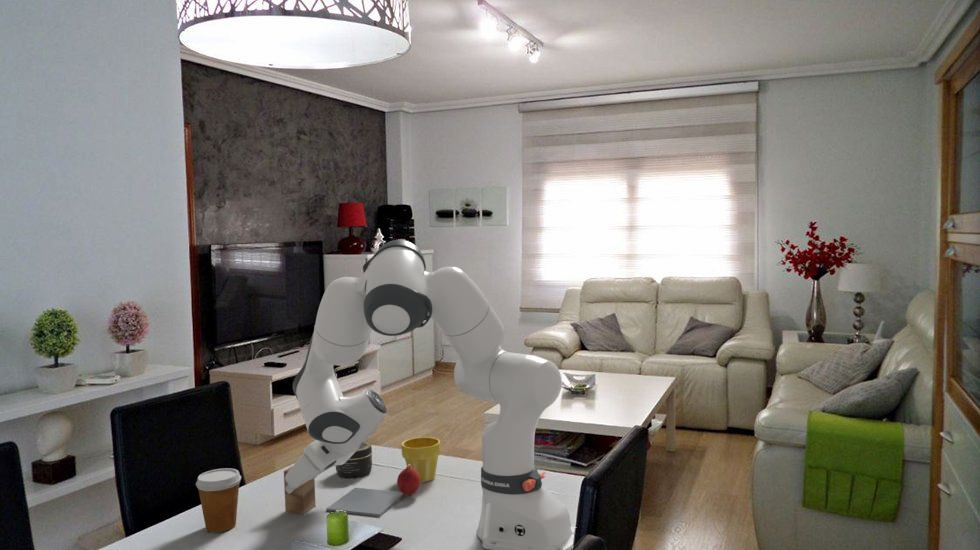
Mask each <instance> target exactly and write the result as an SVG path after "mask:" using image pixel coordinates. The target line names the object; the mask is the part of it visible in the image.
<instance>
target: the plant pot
mask: <svg viewBox="0 0 980 550" xmlns="http://www.w3.org/2000/svg"><path fill="white" fill-rule="evenodd" d="M441 446H442V445H441V440H440V439H439V438H437V437H431V436H420V437H419V436H418V437H412V438H409V439H408V438H407V439H406V440H403V441H402V442H401V446H400V447H401V456H402V458H403V459H404V460H405V466H407V465H409V464H411V465H412V468H413V469H414V470H416V471H417V472H418V474H419V476H420V479H421V483H425V482H431V481H432V480H435V478H436V473H437V465H438V461H439V460H438V459H439V456H440V454H441V451H442V450H441V448H442V447H441ZM430 480H431V481H430Z"/></svg>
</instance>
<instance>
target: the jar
mask: <svg viewBox="0 0 980 550" xmlns="http://www.w3.org/2000/svg"><path fill="white" fill-rule="evenodd" d="M372 449H373V448H372V444H371V443H370V442H368V441H363V442H362V443H361V445H360V447H359V448H358V450H357V451H356V452H355V453H354V454H353V455H352V456H351V457H350V458H349V459H348V460H347V461H346V462H345V463H344V464H343V465H337V466H335V471H336V474H337V475H338V477H340V478H342V479H350V480H351V479H360V478H364V477H366V476H368V475H369V474H371V471H372V468H373V450H372Z"/></svg>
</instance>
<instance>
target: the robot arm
mask: <svg viewBox="0 0 980 550" xmlns="http://www.w3.org/2000/svg"><path fill="white" fill-rule="evenodd" d="M426 269H427V266H426V261H425V257H424V255H423V253H422V251H421V250H420V249H419V247H418V246H417V245H415V244H414V243H412V242H410V241H408V240H403V239H393V240H390V241H387V242H386V243H384V244H383V245H381V246H380V247H379V248H378V249H377V251H376V252H375V253H374V254H373V256H372V257H370V259H369V260H367V261H366V262H365V263H364V264H363V266H362V271H363V274H362V275H361V276H358V277H355V276H342V277H339V278H336V279H334V280H333V281H331V282H330V283H329V284H328V286H327V287H326V288H325V290H324V293H323V296H322V298H321V301H320V303H319V307H318V308H317V309H318V310H317V314H316V317H315V318H316V319H315V323H314V324H315V325H314V330H313V333H312V335H311V339H310V342H309V345H308V349H307V353H306V355H305V356H306V357H305V360H304V363H303V365H302V367H301V369H300V370H299V372H298V373H297V374H296V376H295V377H294V380H293V382H292V390H293V393H294V396H295V397H296V399H297V402H298V405H299V409H300V411H301V415H302V417H303V421H304V423H305V426H306V429H307V432H308V435H309V436H310V437H311V438H312V439H314V440H312V442H310V443H309V444H308V445H307V446H305V448H303V452H304V453H303V454H302V455H300V457H299V458H298V459H297V460H296V462H294V463H293V465H292V466H291V467H292V468H291V469H290V470H289V472H288V473H287V474H286V477H285V480H286V481H287V483H288V485H287V486H286V487H285V489H284V491H285V490H286V491H287V492H288V493H289V494H290V493H292V492H293V491H294V490H295V489H297V488H298V487H300V486H301V485H303V484H305V483H306V482H308V481H309V480H311V479H313V478H314V479H316V478H317V477H318V476H319V475H320V474H322V473H324V472H325V471H327V470H328V469H330V468H333V467H336V466H337V465H343V464H344V463H345V462H346V461H347V460H348V459H349V458H350V457H351V456H352V455H353V454H354V453H355V452H356V451H357V450H358V448H359V447H360V445H361V443H362V442H363V441H364V442H366V441H367V440H368V439H369V438H370V437H371V436H372V435H373V434H374V433H375V432H376V431H377V430H378V429H379V427H380V426H381V425H382V423H383V421H384V420H385V418H386V417H387V415H388V411H387V407H386V404H385V402H384V400H383V398H382V397H381V396H380V395H379V394H378V392H376V391H374V390H372V389H371V388H366V389H364V390H362V391H361V392H360V393H359V394H356V395H352V396H344V394H343V391H342V388H341V385H340V383H339V380H338V376H337V373H336V371H335V368H334V366H348V365H351V364H353V363H356V362H357V361H359V360H360V359H361V358H362V357H363V356H364V354H365V353H366V351H367V348H368V345H369V343H370V340H371V336H372V335H371V334H372V331H374V333H375V332H376V333H377V334H380V335H382V336H387V337H397V336H401V335H405V334H408V333H410V332H412V331H414V330H416V329H417V328H423V327H424V326H425V325H427V323H428V322H429V321H430V320H432V321H433V322H434V323H435V325H436V326H437V328H438V329H439V330H440V332H441V333H442V335H443V336H444V337H445V339H446V341H448V343H449V345H450V346H451V348H452V349H453V351H454V353H455V354H456V355H457V358H458V360H457V361H456V364H455V366H454V370H453V377H454V378H453V380H454V383H455V386H456V387H457V389H458V391H460V392H461V393H463V394H464V395H467V396H469V397H471V398H474V400H475V399H476V400H478V401H484V402H489V403H496V404H499V414H498V418H497V419H496V420H494V421H493V422H491V423H489V424H488V425H487V426H486V427H485V429H484V430H483V431H482V435H481V443H482V445H481V450H482V453H481V455H482V466H481V468H480V486H481V490H482V502H481V511H480V515H479V516H480V518H479V521H478V526H477V529H476V534H477V537H478V538H479V539H480V540H481V542H482V543H481V544H482V547H483V548H484V549H486V550H571V549H572V546H573V538H574V528H576V527H575V526H573V525H572V524H571V517H570V514H569V513H570V512H569V510H568V507H567V506H566V505H565V504H564V503H563V502H561V501H560V500H559V499H558V498H557V497H555V496H554V494H552V493H551V492H550V491H549V490H548V489H547V488H546V487H545V486H544V485H543V481H542V479H545V477H546V475H545V474H546V471H543V472H542V473H539V471H538V469H537V467H536V465H535V435H536V429H537V426H538V422H539V419H540V418H541V415H543V413H544V412H545V410H547V408H549V407H551V405H553V404H554V403H555V401H556V400H557V399H558V398H559V396H560V393H561V389H562V384H563V383H562V381H563V380H562V375H561V371H560V370H559V367H558V366H557V364H555V362H553V361H551V360H549V359H546V358H543V357H541V356H538V355H535V354H526V353H516V352H511V351H506V350H505V349H503V348H502V344H503V343H504V340H505V326H504V324H503V322H502V320H501V319H500V318H499V316H498V315H497V313H496V311H495V310H494V308H493V307H492V305H491V303H490V302H489V301H488V299H487V298H486V295H484V293H483V292H482V290H481V289H480V288H479V286H478V285H477V284H476V283H475V282H474V281H473V279H471V278H470V276H468V274H467V273H466V272H465V271H464V270H462V269H461V268H459V267H456V266H443V267H440V268H438V269H436V270H434V271H427V270H426ZM572 550H573V549H572Z"/></svg>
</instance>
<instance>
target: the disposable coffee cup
mask: <svg viewBox="0 0 980 550" xmlns="http://www.w3.org/2000/svg"><path fill="white" fill-rule="evenodd" d="M196 480H197V481H196V482H195V486H196V488H197V489H198V494H199V499H200V500H199V501H200V503H201V511H202V514H203V521H204V525H205V530H207V531H206V532H208V531H210V532H209V533H211V532H219V533H223V532H222V531H224V532H227V531H226V530H228V531H230V530H232V529H233V527H234V528H235V527H236V526H237V514H238V501H239V490H240V483H241V480H242V475H240V471H239V470H238V469H236V468H231V467H230V468H226V467H225V468H217V469H216V468H215V469H211V470H208V471H205V472H202V473H201V474H199V475H198V477H197V479H196ZM235 525H236V526H235ZM229 529H230V530H229Z"/></svg>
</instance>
